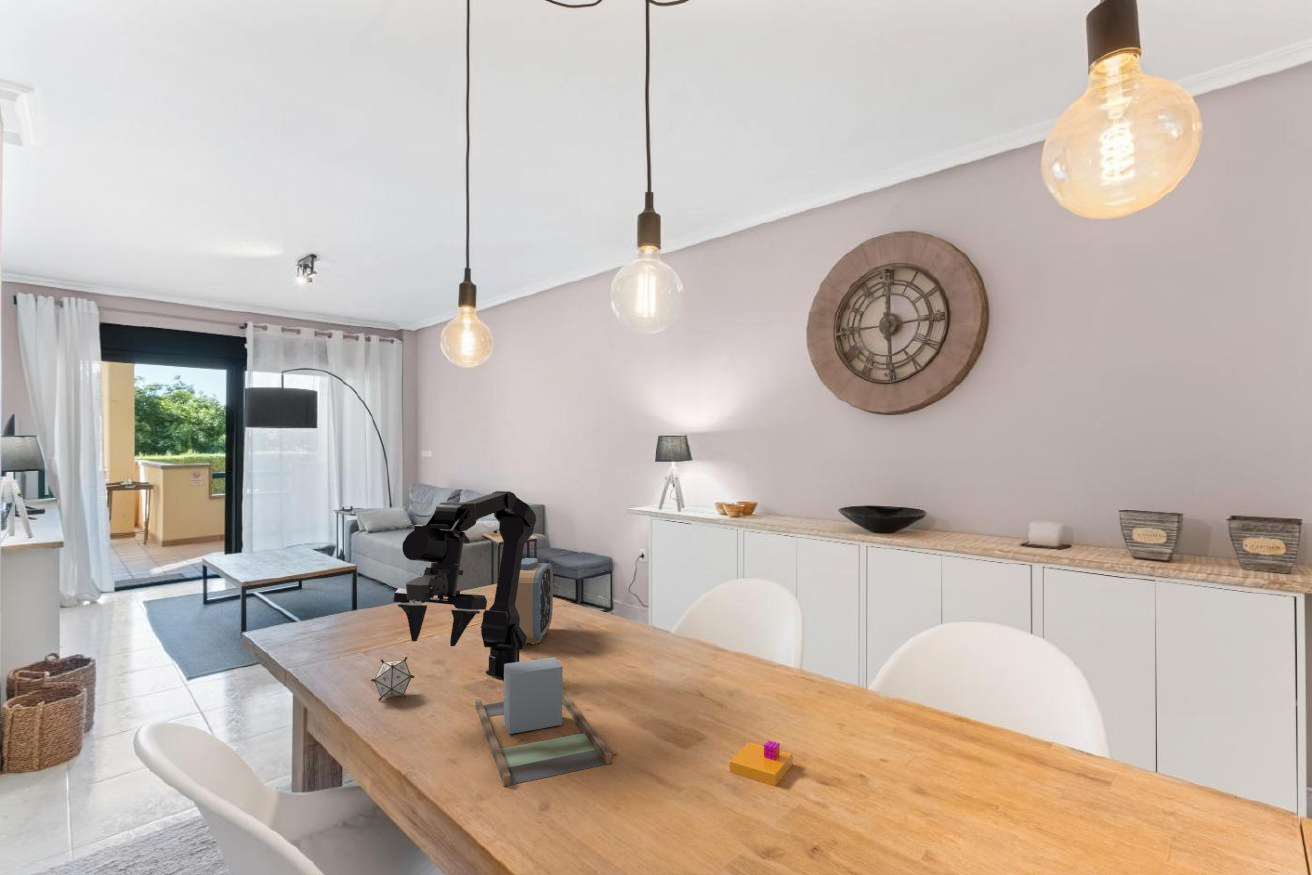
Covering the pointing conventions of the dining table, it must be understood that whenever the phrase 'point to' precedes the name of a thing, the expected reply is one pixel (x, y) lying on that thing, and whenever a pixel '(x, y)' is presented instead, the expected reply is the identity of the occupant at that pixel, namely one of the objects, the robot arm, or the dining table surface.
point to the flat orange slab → (762, 762)
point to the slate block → (532, 694)
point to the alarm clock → (535, 598)
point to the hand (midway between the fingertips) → (433, 643)
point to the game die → (392, 678)
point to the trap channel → (544, 749)
